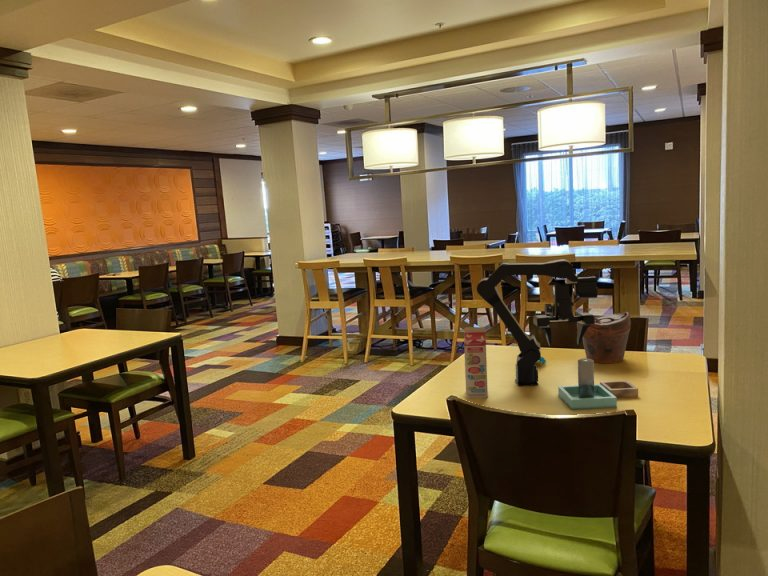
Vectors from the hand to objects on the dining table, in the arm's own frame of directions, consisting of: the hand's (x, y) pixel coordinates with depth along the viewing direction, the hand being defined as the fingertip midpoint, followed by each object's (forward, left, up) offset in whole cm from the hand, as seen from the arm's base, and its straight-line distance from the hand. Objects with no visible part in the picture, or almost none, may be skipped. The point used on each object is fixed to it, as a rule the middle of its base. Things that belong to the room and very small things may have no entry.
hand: (564, 345), depth 193 cm
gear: (-3, +27, -13) cm, 30 cm away
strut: (+1, -18, -12) cm, 22 cm away
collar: (+13, -12, -13) cm, 22 cm away
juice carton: (-30, -6, -13) cm, 33 cm away
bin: (+1, -18, -13) cm, 22 cm away
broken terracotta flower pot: (+23, +27, -13) cm, 38 cm away
